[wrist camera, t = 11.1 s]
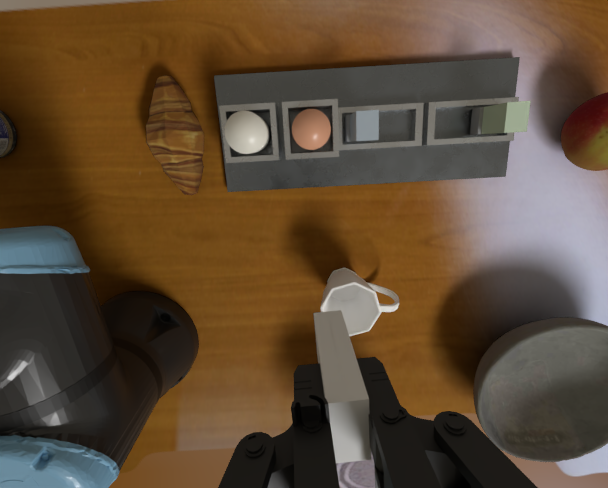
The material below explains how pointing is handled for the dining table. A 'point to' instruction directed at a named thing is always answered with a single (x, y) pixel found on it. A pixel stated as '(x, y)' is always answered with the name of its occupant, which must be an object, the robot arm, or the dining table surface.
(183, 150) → the croissant
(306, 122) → the button terracotta
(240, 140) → the button cream
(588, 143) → the apple
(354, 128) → the block
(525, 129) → the slider sage
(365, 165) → the panel
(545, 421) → the bowl
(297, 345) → the dining table surface
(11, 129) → the pill bottle
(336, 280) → the cup
